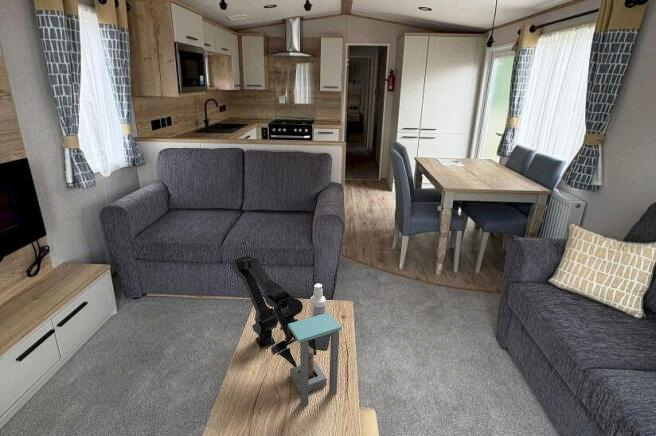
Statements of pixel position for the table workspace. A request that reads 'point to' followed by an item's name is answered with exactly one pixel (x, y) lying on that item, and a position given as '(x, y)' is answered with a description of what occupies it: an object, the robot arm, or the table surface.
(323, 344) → the phone
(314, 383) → the socket
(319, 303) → the spray bottle
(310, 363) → the peg
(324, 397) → the table surface
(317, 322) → the teal topped stool
